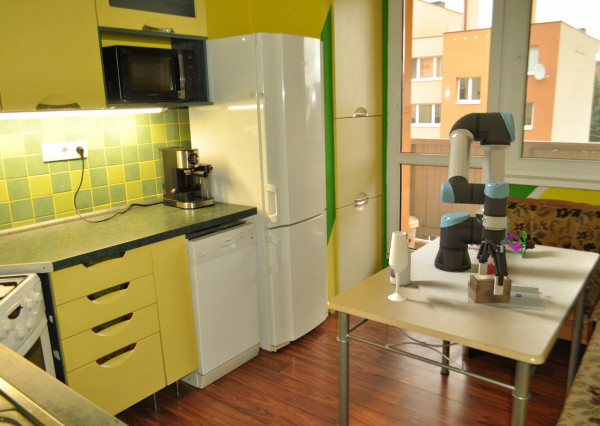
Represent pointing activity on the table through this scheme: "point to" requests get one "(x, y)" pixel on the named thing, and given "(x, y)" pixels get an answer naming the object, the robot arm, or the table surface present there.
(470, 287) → the frame
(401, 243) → the champagne flute
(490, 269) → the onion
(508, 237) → the potted plant
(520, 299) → the wall panel
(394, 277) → the milk bottle
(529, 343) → the table surface
